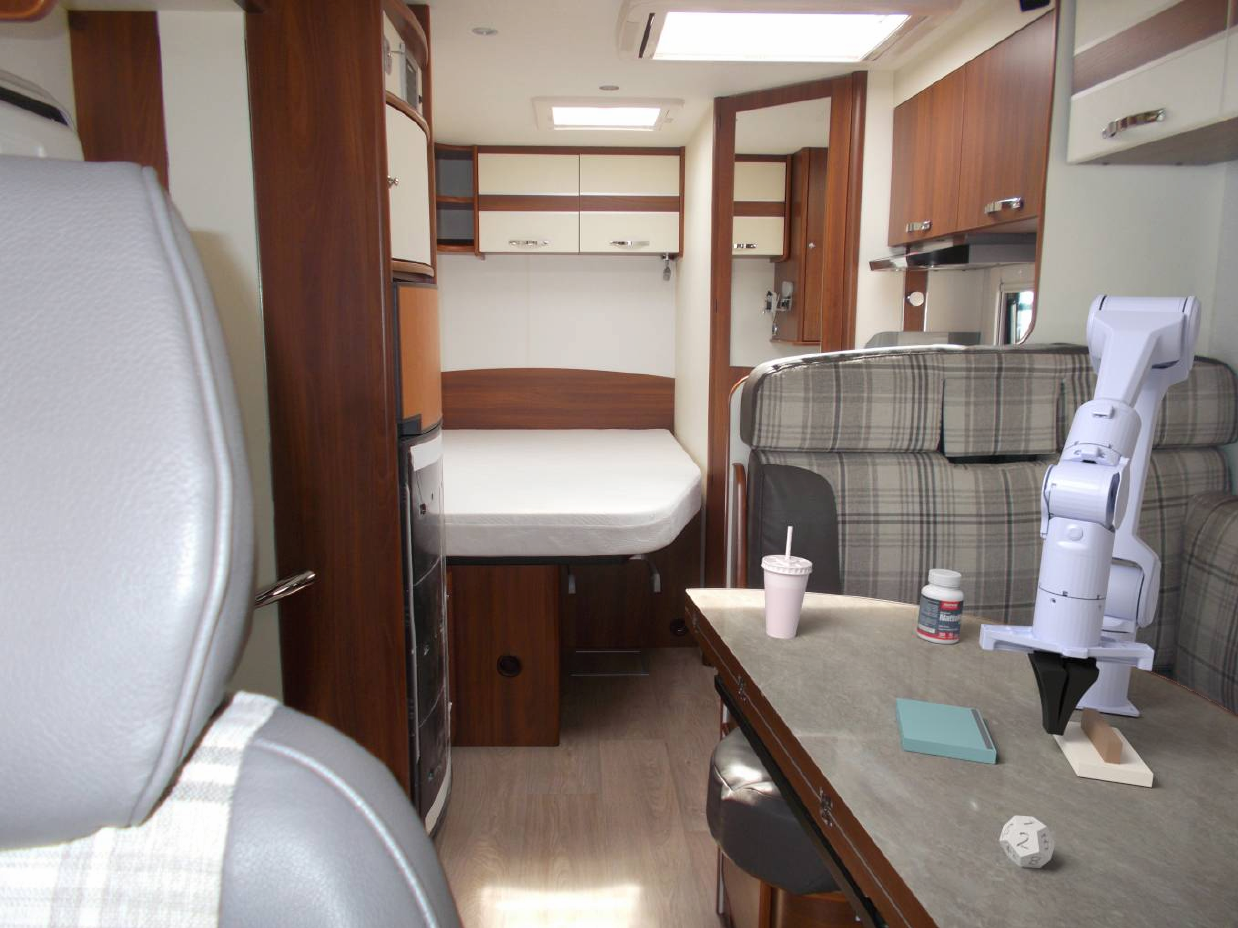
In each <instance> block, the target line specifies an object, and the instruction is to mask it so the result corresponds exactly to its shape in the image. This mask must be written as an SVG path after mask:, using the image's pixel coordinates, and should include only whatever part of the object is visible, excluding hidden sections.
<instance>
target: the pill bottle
mask: <svg viewBox="0 0 1238 928" xmlns="http://www.w3.org/2000/svg"><path fill="white" fill-rule="evenodd" d="M962 578H963V577H962V574H961V573H960V572H958V571H955V570H951V569H947V568H931V569H929V571H928V579H927V580H928V582H929V584H927V585H925V586H923V588H922V589H921V593H920V601H919V607H918V608H919V609H918V618H917V627H916V635H917V636H918V637H919V638H920V639H922V640H924V641H927V642H929V643H935V644H942V645H953V644H956V643H958V642H959V640H960V634H961V626H962V617H963V616H962V615H963V610H964V609H963V608H964V602H965V596H964V595H965V594H964V592H962V590H960V589H959V587H960V586H961V584H962Z"/></svg>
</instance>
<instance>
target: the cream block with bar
mask: <svg viewBox="0 0 1238 928" xmlns="http://www.w3.org/2000/svg"><path fill="white" fill-rule="evenodd" d="M1119 729H1120V728H1118V727H1113V726H1110V724H1109V723H1108V722H1107V720H1105V718H1104V717H1103V715H1102V714H1101V712H1099V711H1098V710H1097V709H1094V708H1086V707H1083V709H1082V712H1081V720H1080V722H1077V721H1070V720H1069V721H1068V724H1067V726H1066V729H1065V732H1064V735H1063V736H1060V735H1053V734H1052V736H1053V738H1054V739H1055V741H1056V742H1057V744H1058V746H1059V747H1060V749H1061V751H1062V753H1063V755H1064V756H1065V757H1066V759H1067V761H1068V763H1069V764H1070V766H1071V767H1072V769H1073V771H1074V773H1075V774H1076V776H1078V777H1082V778H1088V779H1089V778H1090V779H1094V780H1096V779H1097V780H1102V781H1109V782H1114V783H1120V784H1121V783H1122V784H1129V785H1134V786H1135V785H1136V786H1141V787H1148V788H1152V786H1153V782H1154V781H1153V779H1154V773H1153V772H1152V770H1151V769H1150V768H1149V767H1148V765H1147V764H1146V763H1145V762H1144V759H1142V757H1140V755H1139V754H1138V752H1137V751H1136V750H1135V748H1134V747H1133V746H1132V745H1131V744H1130V742H1129V741H1128V740H1127V738H1126V737H1125V735H1123V734H1122V732H1121V731H1120V730H1119Z"/></svg>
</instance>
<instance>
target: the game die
mask: <svg viewBox="0 0 1238 928" xmlns="http://www.w3.org/2000/svg"><path fill="white" fill-rule="evenodd" d="M998 841H999V843H1000V845H1001V847H1002V849H1003V851H1004V853H1005V855H1006V857H1007V858H1008V859H1009V860H1011V861H1012V862H1013V863H1015V864H1016V865H1017V866H1018V867H1020V868H1031V869H1041V868H1042V867H1043V866H1045V865H1046V864H1047V863H1048V862H1050V861H1051V859H1052V856H1053V853H1054V848H1055V845H1056V842H1055V840H1054V838H1053V836H1052V834H1051V832H1050V830H1049V828H1048V826H1046V825H1045V824H1044V823H1043V822H1041V821H1040V820H1038V819H1037V818H1035V817H1034V816H1028V815H1027V816H1026V815H1014V816H1013V817H1011V818H1010V820H1008V821H1007V822H1006V823H1005V824H1004V825H1003V828H1002V830H1001V833H1000V836H999V840H998Z"/></svg>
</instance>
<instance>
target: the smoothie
mask: <svg viewBox="0 0 1238 928" xmlns="http://www.w3.org/2000/svg"><path fill="white" fill-rule="evenodd" d="M793 528H794V527H793V526H792V525H791V526H790V525H788V526H787V537H786V538H787V539H786V547H785V554H770V555H765V556H763V557H762V558H761V559H762V560H761V565H760V566H761V568H762V569H763V583H764V584H763V585H764V609H765V634H766V635H767V636H769V637H771V638H773V639H774V638H775V639H781V640H789V639H794V638H795V637H796V634H797V630H798V626H799V620H800V616H801V611H802V607H803V602H804V600H805V599H804V598H805V594H806V589H807V585H808V582H809V581H808V580H809V576H810V574H811V573H813V562H812V561H810V560H808V559H805V558H803V557H799V556H794V555H791V551H792V550H791V548H792V539H793V538H792V537H793Z"/></svg>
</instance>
